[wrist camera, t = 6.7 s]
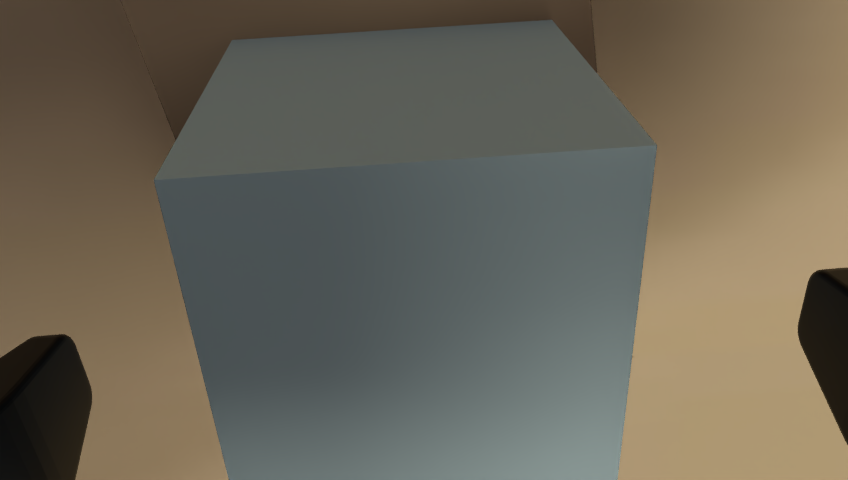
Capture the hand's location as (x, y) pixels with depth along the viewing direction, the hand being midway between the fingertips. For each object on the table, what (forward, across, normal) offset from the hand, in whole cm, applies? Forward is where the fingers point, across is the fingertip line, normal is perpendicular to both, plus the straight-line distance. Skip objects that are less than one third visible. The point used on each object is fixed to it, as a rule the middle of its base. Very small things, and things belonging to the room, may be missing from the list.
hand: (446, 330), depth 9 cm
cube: (+4, 0, 0) cm, 5 cm away
